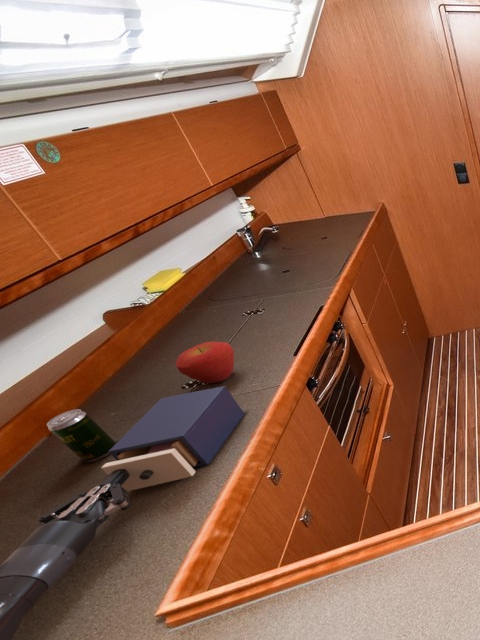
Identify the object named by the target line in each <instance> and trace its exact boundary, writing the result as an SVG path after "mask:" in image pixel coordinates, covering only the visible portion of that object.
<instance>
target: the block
mask: <svg viewBox="0 0 480 640" xmlns="http://www.w3.org/2000/svg"><path fill="white" fill-rule="evenodd" d="M174 442H175V441H171V442H166V443H161V444H157V445H152V447H151V449H150V450H149V452H148V454H151V453H155V452H160V451H165V450H169V449H174V448H173V447H172V446H171V445H172V444H173V443H174Z"/></svg>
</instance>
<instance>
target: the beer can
mask: <svg viewBox="0 0 480 640" xmlns="http://www.w3.org/2000/svg"><path fill="white" fill-rule="evenodd" d="M46 427H48V428H47V429H48V430H49V432H51V433H52V434H53V435H54V436H55V437H56V438H57V439H59V441H61V442H62V443H63V444H64V445H65V446H66V447H67V448H68V449H70V450H71V452H73V453H74V454H75V455H76V456H77V457H78V458H80V459H81V460H82V462H88V463H93V462H96V461H99V460H101V459H104V458H105V457H107V456H109V455H111V454H110V453H109V452H108V451H109V450H110V449H111V448H112V447H113V446H114V445H115V444H116V443H117V442H116V441H115V440H114V439H113V438H112V437H111V436H110V435H109V434H108V433H107V432H106V431H105V430H104V429H103V428H102V427H101V426H100V425H99V424H98V423H97V422H96V421H95V420H94V419H93V418H92V417H91V416H90V415H89V414H88V413H86V411H82V409H79V408H77V409H72V410H68V411H65V412H62V413H61V414H60V413H59V414H58V415H56V416H54V417H52V418H51V419H50V420H49V421H48V422H47V423H46Z"/></svg>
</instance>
